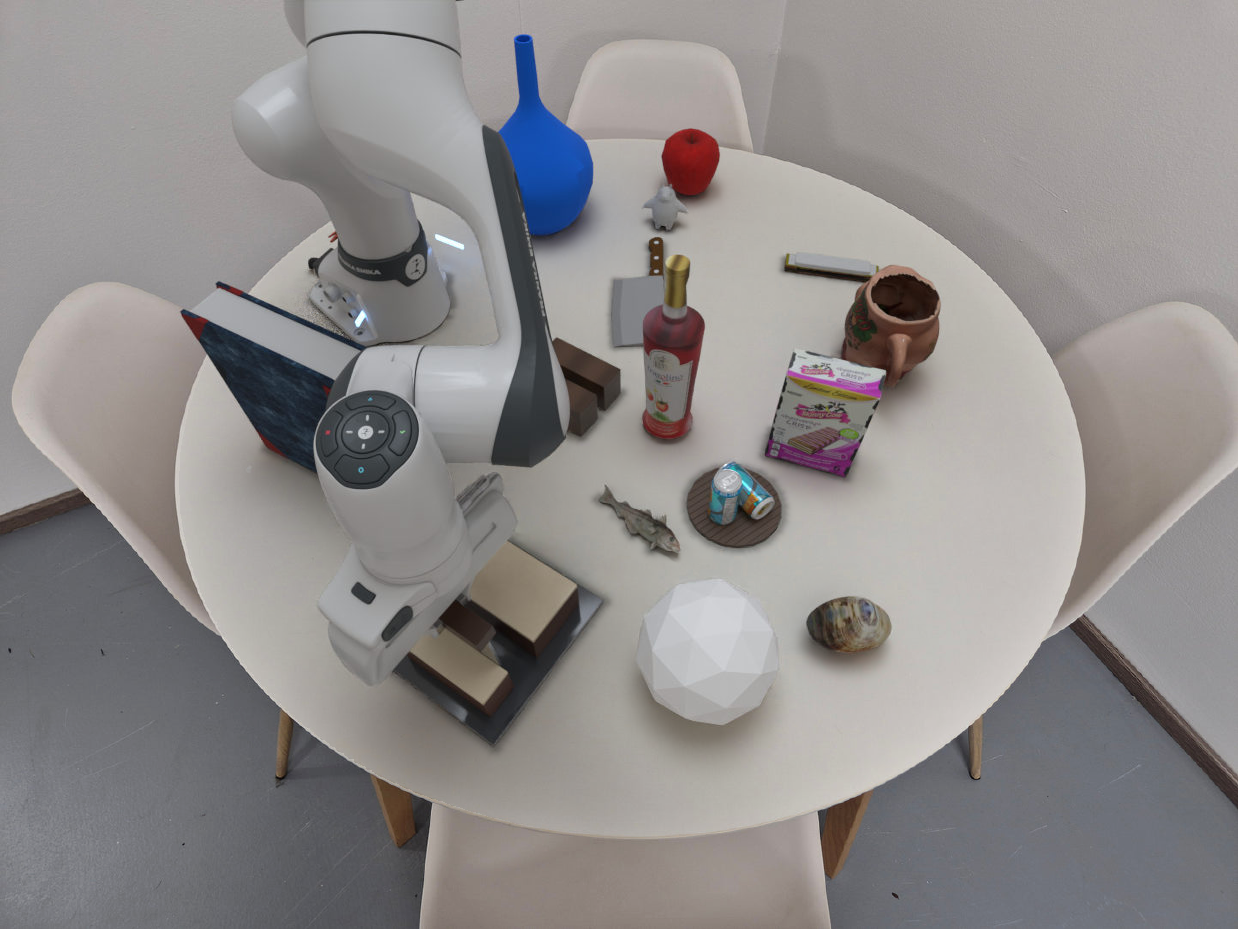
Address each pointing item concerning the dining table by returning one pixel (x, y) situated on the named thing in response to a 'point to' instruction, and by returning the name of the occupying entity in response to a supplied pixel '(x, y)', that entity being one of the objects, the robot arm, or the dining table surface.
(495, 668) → the cake slice
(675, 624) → the geometric shape
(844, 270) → the harmonica
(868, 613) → the seashell
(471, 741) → the dining table surface
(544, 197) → the vase
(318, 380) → the book
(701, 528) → the drink cans on coaster
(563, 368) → the slicer stand
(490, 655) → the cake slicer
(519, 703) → the cake
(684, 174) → the apple
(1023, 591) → the dining table surface
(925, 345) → the decorative planter
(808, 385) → the candy bar box
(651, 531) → the fish
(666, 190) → the figurine
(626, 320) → the kitchen cleaver
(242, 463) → the dining table surface
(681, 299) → the liquor
